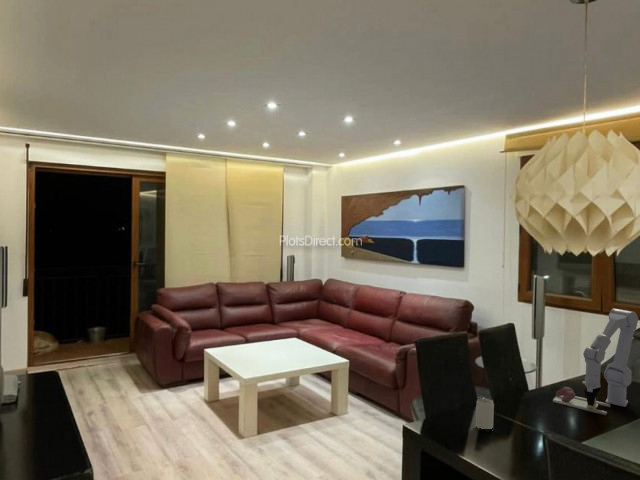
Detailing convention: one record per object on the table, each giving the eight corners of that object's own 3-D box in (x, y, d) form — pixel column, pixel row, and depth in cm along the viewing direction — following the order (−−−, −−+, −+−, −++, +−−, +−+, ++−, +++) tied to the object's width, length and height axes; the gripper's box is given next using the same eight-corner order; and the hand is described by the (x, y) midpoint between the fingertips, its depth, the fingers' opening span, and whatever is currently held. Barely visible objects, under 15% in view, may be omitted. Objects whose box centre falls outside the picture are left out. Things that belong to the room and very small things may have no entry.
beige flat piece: (557, 395, 214) (558, 386, 214) (598, 405, 203) (598, 395, 203) (552, 400, 206) (553, 391, 206) (594, 411, 195) (595, 401, 195)
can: (492, 427, 175) (493, 397, 175) (493, 434, 169) (494, 403, 169) (475, 424, 178) (476, 395, 177) (475, 430, 171) (476, 400, 171)
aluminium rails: (559, 394, 215) (559, 392, 215) (610, 406, 201) (610, 404, 201) (553, 402, 205) (553, 399, 205) (606, 415, 191) (606, 412, 191)
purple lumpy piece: (570, 407, 202) (578, 394, 201) (561, 401, 203) (569, 389, 202) (563, 399, 212) (570, 387, 211) (554, 394, 213) (561, 382, 212)
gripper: (585, 368, 208) (584, 396, 208) (579, 375, 197) (578, 405, 197) (603, 372, 204) (601, 400, 204) (598, 379, 193) (596, 409, 193)
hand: (591, 403), depth 200 cm, fingers open, 5 cm apart
